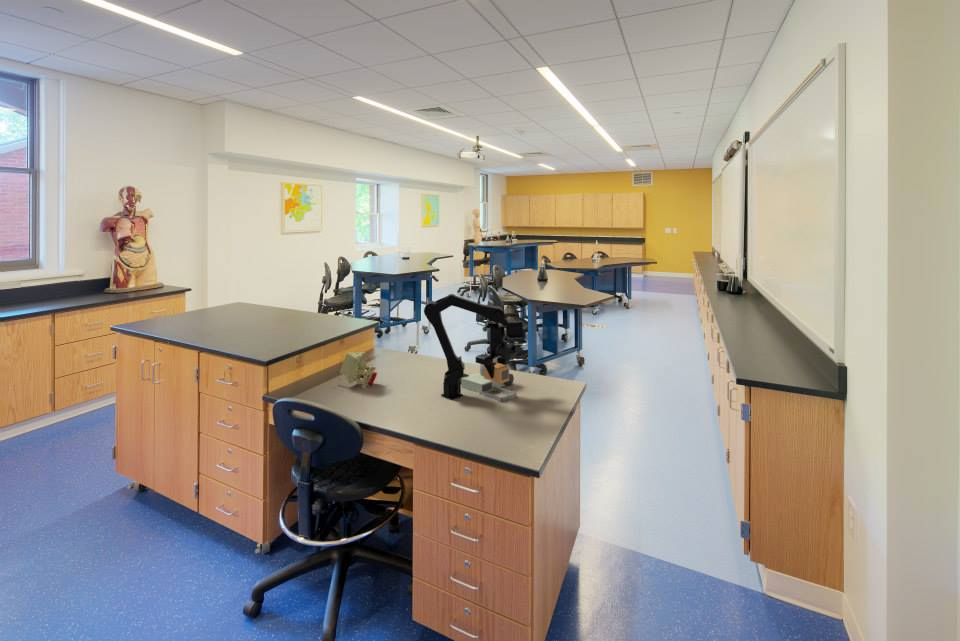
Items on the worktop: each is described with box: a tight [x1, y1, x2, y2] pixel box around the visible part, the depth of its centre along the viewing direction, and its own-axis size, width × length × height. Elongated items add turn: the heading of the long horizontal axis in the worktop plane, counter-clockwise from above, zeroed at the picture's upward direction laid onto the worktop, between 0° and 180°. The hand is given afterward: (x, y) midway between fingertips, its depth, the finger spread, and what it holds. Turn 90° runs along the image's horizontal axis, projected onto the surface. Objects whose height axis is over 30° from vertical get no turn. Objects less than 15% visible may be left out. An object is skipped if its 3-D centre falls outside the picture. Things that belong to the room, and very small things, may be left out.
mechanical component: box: [336, 350, 378, 389], centre depth 209 cm, size 8×17×20 cm, turn 89°
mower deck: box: [459, 358, 515, 393], centre depth 208 cm, size 18×15×10 cm
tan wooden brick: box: [484, 362, 510, 384], centre depth 195 cm, size 5×9×6 cm, turn 45°
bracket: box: [478, 386, 518, 403], centre depth 197 cm, size 9×12×2 cm
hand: (496, 376), depth 196 cm, fingers closed on tan wooden brick, 5 cm apart
